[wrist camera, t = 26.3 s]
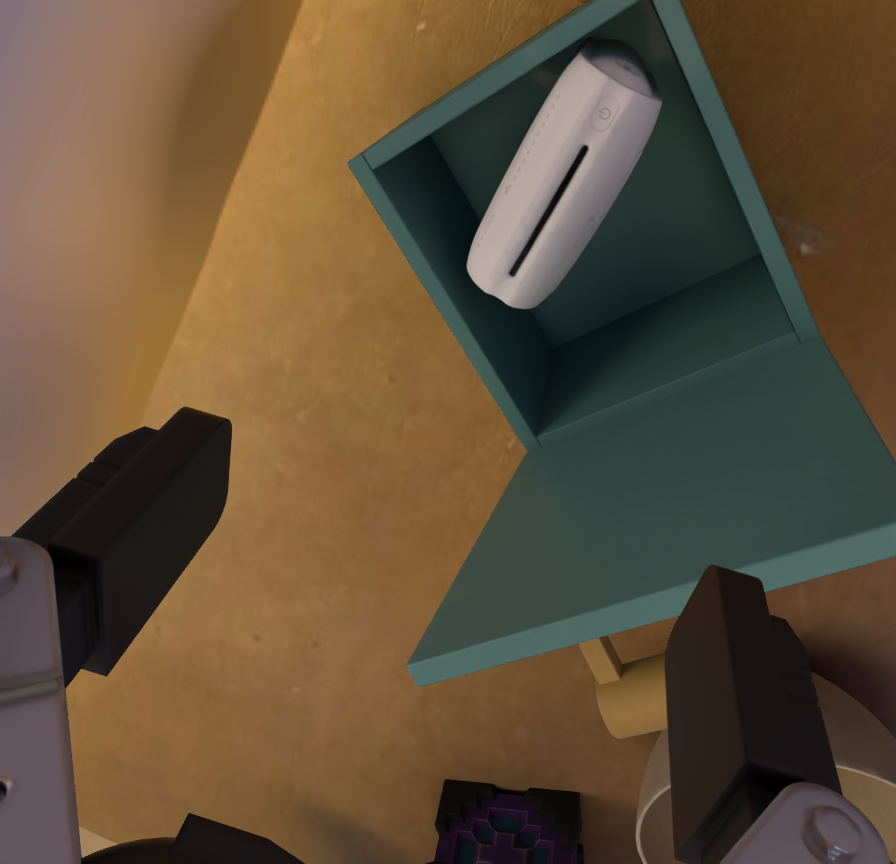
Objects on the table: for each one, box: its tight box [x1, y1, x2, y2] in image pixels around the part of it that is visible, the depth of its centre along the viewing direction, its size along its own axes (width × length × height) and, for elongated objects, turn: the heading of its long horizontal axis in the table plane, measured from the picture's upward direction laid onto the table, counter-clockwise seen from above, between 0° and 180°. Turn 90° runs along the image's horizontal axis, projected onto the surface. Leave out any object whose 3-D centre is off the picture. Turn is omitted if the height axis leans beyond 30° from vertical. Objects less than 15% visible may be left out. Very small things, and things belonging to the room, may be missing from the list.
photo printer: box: [467, 37, 662, 309], centre depth 34 cm, size 10×4×12 cm, turn 153°
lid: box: [406, 337, 896, 739], centre depth 27 cm, size 16×14×5 cm
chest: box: [347, 0, 821, 453], centre depth 36 cm, size 16×14×11 cm
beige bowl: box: [636, 672, 896, 864], centre depth 52 cm, size 18×18×12 cm
